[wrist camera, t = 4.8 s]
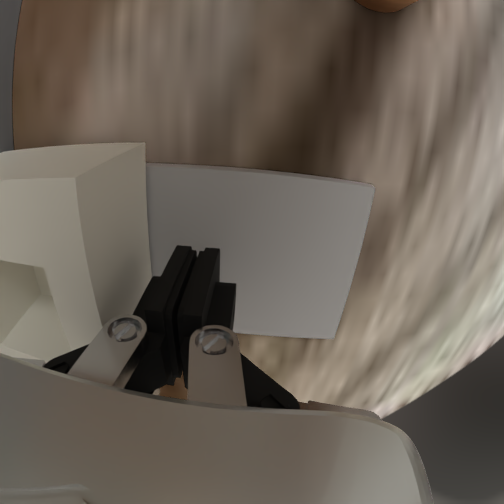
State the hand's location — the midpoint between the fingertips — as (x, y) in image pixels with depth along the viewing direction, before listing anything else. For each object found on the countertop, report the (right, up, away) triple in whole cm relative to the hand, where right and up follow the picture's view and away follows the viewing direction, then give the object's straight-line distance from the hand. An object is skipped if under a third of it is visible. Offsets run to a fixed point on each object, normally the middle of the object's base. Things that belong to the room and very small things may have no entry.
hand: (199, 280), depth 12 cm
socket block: (-6, +1, +1) cm, 7 cm away
